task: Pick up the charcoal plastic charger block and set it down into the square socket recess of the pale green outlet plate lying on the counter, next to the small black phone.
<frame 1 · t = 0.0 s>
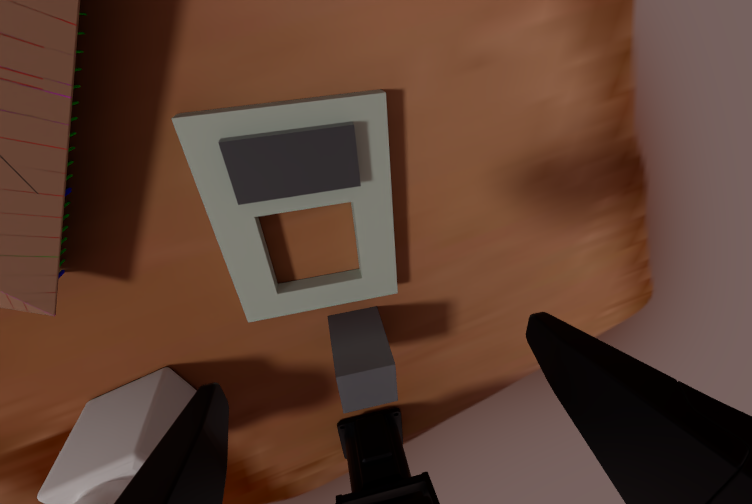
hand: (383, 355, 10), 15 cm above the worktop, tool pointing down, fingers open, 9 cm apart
charger block: (355, 328, 30), on the worktop
medicine bottle: (159, 403, 30), on the worktop
outlet plate: (306, 215, 23), on the worktop
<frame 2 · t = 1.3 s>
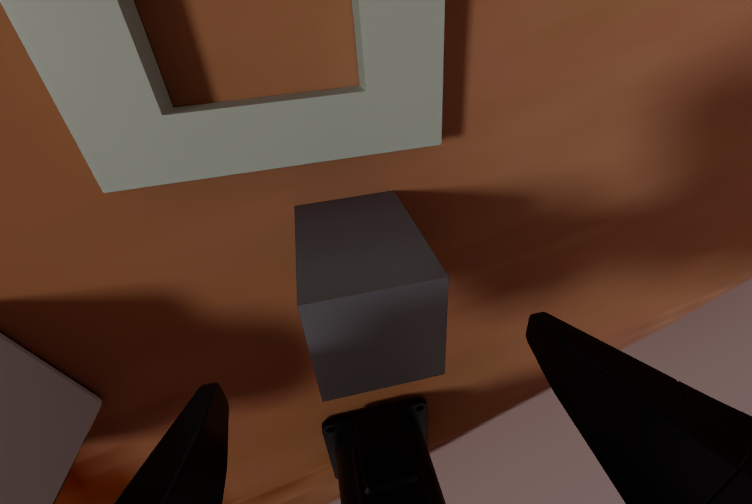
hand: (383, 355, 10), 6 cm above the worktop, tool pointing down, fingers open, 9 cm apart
charger block: (350, 240, 15), on the worktop
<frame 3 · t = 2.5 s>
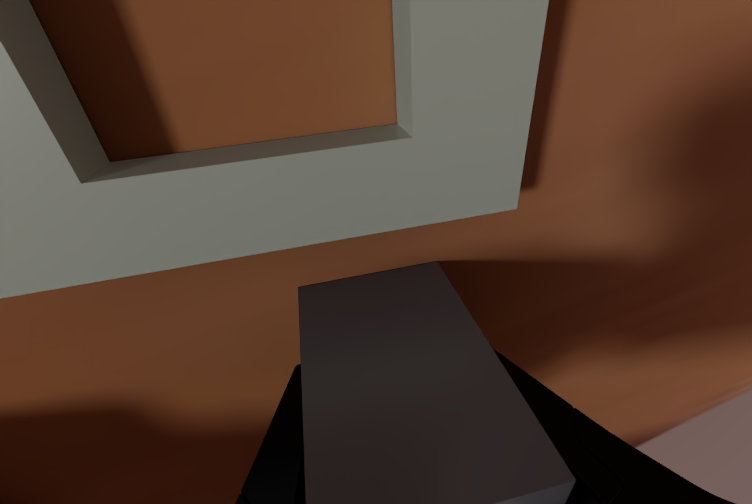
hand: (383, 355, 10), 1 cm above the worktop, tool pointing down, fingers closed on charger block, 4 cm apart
charger block: (374, 325, 11), on the worktop, touching gripper
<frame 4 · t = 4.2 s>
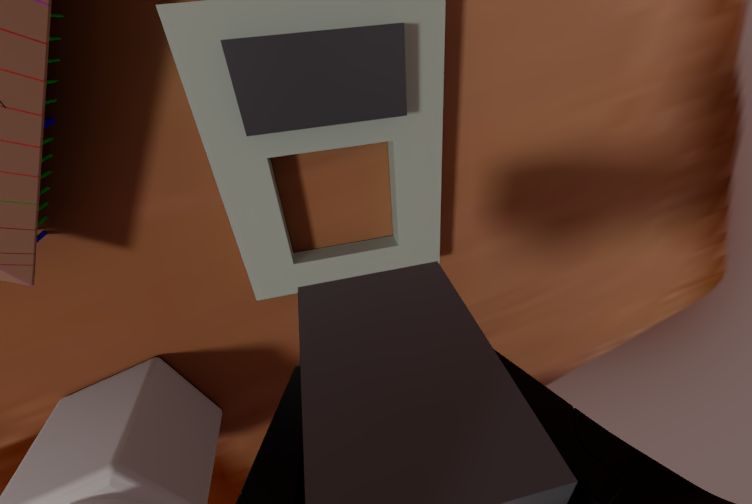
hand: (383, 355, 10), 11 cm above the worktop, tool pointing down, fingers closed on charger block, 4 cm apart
charger block: (374, 325, 11), point 10 cm above the worktop, touching gripper
medicine bottle: (149, 401, 25), on the worktop
outlet plate: (332, 161, 18), on the worktop
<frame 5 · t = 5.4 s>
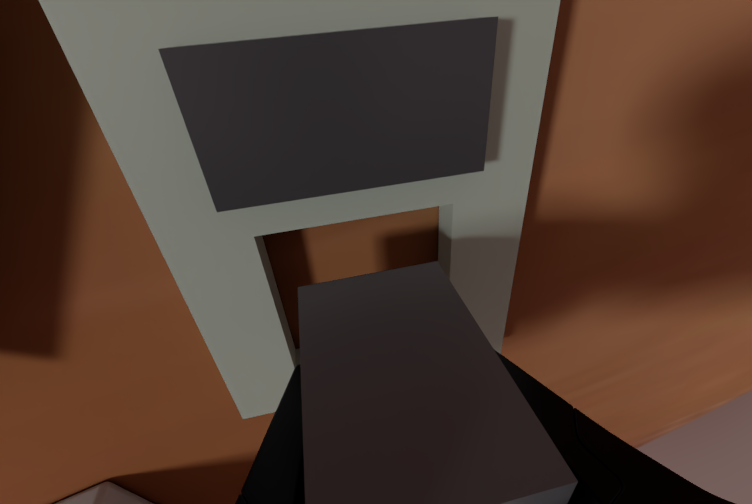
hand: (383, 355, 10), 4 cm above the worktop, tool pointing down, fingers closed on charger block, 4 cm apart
charger block: (374, 325, 11), point 3 cm above the worktop, touching gripper
outlet plate: (354, 229, 12), on the worktop
when the fingers open (2 cm above the worktop, at t = 6.1 s): charger block stays where it is, resting in outlet plate.
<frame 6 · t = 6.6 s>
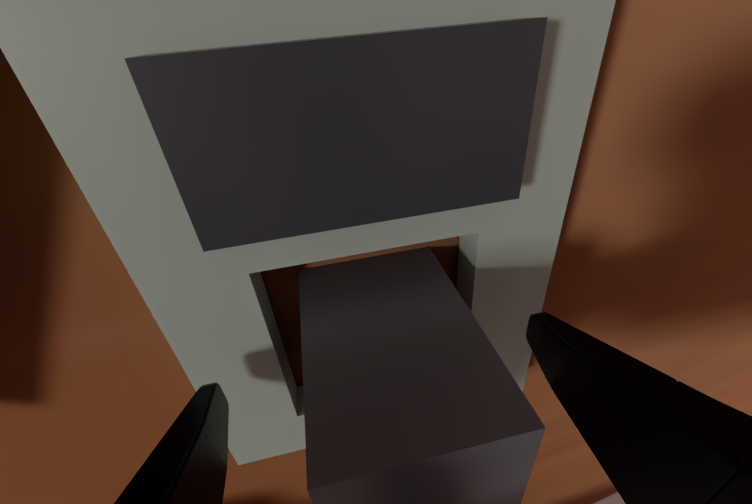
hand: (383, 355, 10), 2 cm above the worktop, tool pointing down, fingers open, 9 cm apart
charger block: (370, 307, 12), resting in outlet plate
outlet plate: (364, 259, 11), on the worktop
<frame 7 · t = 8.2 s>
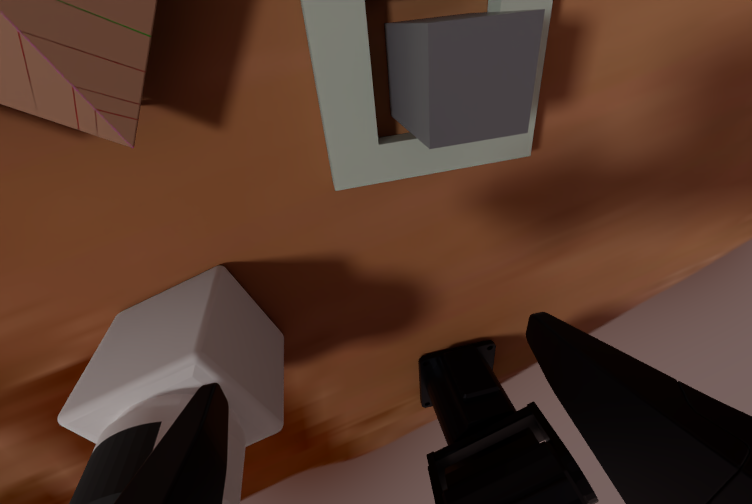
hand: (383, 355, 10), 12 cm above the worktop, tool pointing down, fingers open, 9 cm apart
charger block: (427, 66, 17), resting in outlet plate
medicine bottle: (208, 322, 23), on the worktop
outlet plate: (426, 18, 16), on the worktop
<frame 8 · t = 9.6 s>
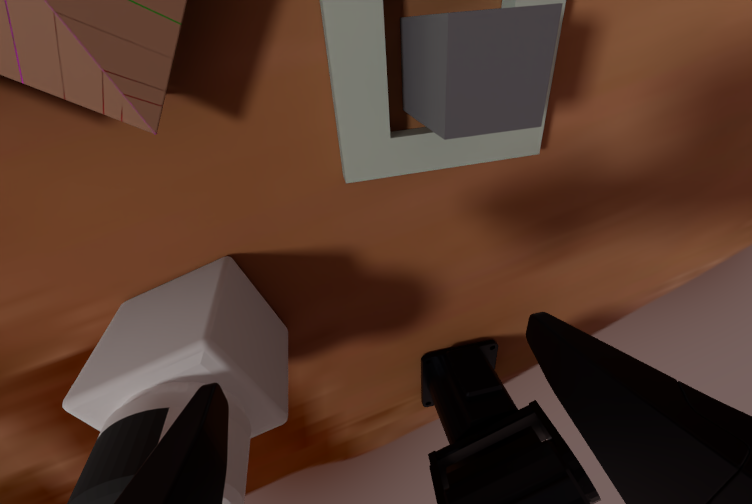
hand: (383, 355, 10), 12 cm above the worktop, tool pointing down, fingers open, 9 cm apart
charger block: (440, 62, 18), resting in outlet plate
medicine bottle: (212, 314, 23), on the worktop
outlet plate: (441, 14, 16), on the worktop
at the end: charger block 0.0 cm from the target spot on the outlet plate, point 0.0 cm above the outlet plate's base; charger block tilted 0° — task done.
